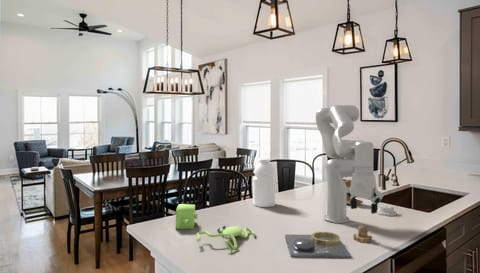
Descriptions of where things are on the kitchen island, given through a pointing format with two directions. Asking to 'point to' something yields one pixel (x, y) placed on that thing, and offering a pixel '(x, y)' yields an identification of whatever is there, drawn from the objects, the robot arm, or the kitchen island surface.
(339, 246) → the carrier plate
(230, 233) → the figurine
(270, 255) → the kitchen island surface
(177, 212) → the gearbox
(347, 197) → the brown upright piece
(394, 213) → the mechanical component
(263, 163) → the bottle
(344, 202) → the robot arm
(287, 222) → the kitchen island surface
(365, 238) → the planet gear
